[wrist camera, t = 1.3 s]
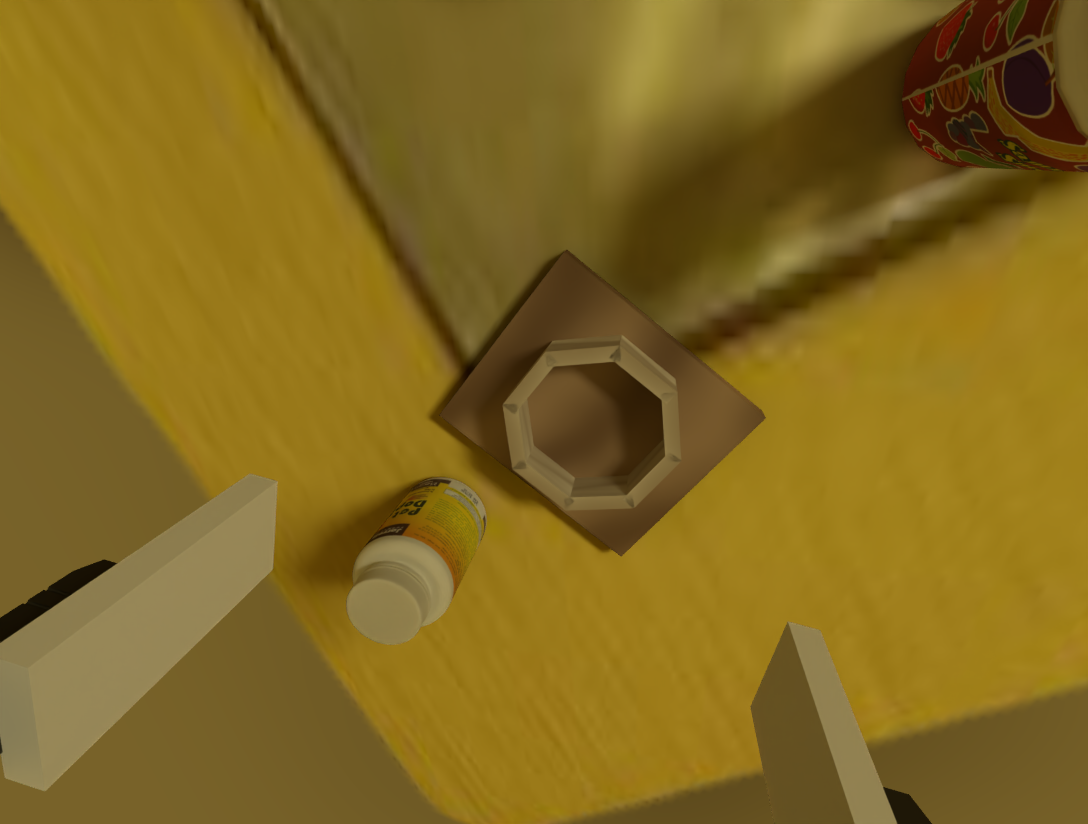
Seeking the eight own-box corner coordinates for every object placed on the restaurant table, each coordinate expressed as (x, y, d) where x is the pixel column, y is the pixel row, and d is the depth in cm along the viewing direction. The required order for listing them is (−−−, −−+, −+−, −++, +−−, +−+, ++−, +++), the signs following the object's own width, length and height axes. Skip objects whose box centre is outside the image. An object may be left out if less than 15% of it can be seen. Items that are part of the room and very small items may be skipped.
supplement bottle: (447, 456, 38) (379, 545, 28) (506, 519, 39) (460, 625, 29) (389, 504, 40) (308, 602, 30) (447, 563, 40) (386, 676, 31)
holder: (445, 408, 37) (424, 430, 33) (566, 249, 32) (557, 256, 29) (621, 546, 38) (619, 580, 34) (761, 410, 33) (774, 435, 30)
